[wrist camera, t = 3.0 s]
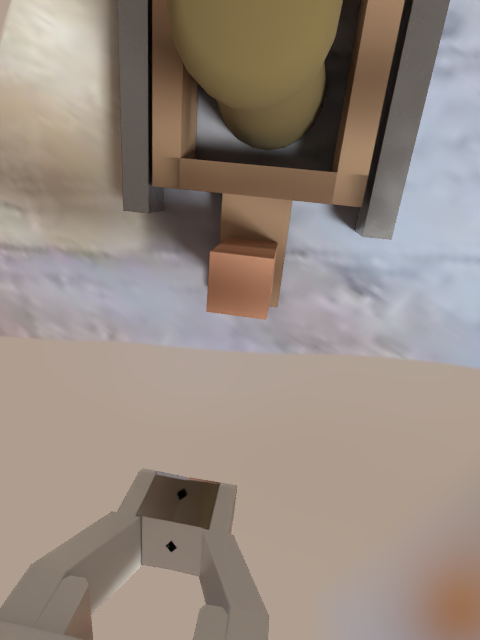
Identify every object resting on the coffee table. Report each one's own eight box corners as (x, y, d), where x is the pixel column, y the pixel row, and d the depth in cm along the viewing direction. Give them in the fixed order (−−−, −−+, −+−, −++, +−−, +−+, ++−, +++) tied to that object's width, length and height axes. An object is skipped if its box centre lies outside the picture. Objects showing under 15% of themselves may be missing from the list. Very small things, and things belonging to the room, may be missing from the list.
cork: (279, 172, 21) (269, 158, 10) (196, 105, 20) (97, 22, 10) (351, 71, 18) (425, -71, 8) (259, -8, 18) (218, -265, 8)
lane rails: (136, -87, 17) (113, -129, 15) (452, -79, 16) (480, -123, 14) (140, 208, 22) (123, 210, 20) (380, 233, 21) (391, 239, 19)
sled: (174, -62, 17) (117, -184, 12) (403, -54, 16) (463, -184, 11) (168, 287, 24) (129, 319, 18) (331, 308, 23) (344, 349, 17)
